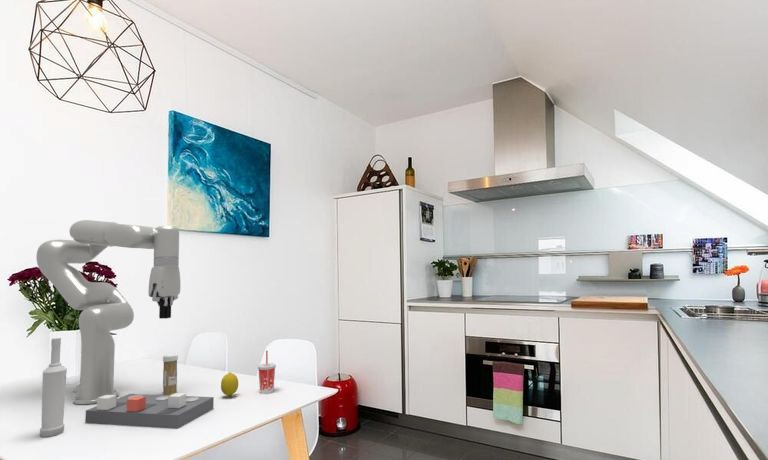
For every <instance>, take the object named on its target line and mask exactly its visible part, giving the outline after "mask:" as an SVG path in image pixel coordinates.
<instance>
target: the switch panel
mask: <svg viewBox="0 0 768 460" xmlns="http://www.w3.org/2000/svg"><path fill="white" fill-rule="evenodd" d="M134 396H143V397H146V408H145V409H142V410H140V411H138V412H133V411H127V399H129V398H132V397H134ZM168 396H170V395H163V394H150V393H149V394H147V393H145V394H143V393H128V394H125V395H123V396H121V397H118V398H116V407H114V408H111V409H109V410H97V405H96V406H94V407H91V408H89V409H86V410H85V421H84V423H85V424H92V425H93V424H96V425H113V426H130V427H144V428H145V427H147V428H160V429H161V428H162V429H180V428H182V427H183V426H185V425H187V424H189V423H191V422H192V421H194V420H196V419H198V418H200V417H201V416H203V415H205V414H207V413H208V412H210V411H212V410H214V406H215V405H214V402H215V401H214V396H194V395H186V405H185V406H183V407H181V408H168Z"/></svg>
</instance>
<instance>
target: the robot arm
mask: <svg viewBox="0 0 768 460" xmlns="http://www.w3.org/2000/svg"><path fill="white" fill-rule="evenodd" d="M69 235H70V237H71V239H72V240H71V239H51V240H46V241H45V242H43V243H41V244H40V245H39V247H38V249H37V251H36V263H37V267H38V269H39V270H40V272H41V274H42V275H43V276H44V277H45V279H47V280H48V281H50V282H49V283H51V284H52V285H53V286H54V288H55V289H56V290H57V291H58V293H59V294H60V295H61V296H62V298H63V299H64V301H65V302H66V303H67V304H68V306H69V307H71V308H72V309H73V310H77V311H81V312H80V314H79V317H78V327H79V333H80V339H81V340H80V343H81V344H80V347H81V348H80V371H79V373H80V374H79V375H80V377H79V384H78V385H76V387H74V388H73V389H71V393H72V394H73V393H76V396H75V397H74V398H73V403H74V404H76V405H91V404H97V398H99V397H102V396H104V395H116V398H117V397H118V396H119V393H120V392H119V391H118V390H114V381H115V380H114V377H115V353H116V352H115V351H116V350H115V347H116V346H115V345H116V344H115V339H114V337H113V336H112V334H111V331H117V330H121V329H125V328H127V327H129V326H130V325H131V324H132V323H133V321H134V318H135V314H134V310H133V308H132V306H131V304H130V303H129V302H128V301H127V299H126V298H125V297H124V296H123V295H122V294H121V292H120V291H119V290H118V289H117V288H116V286H114V285H113V284H110V283H108V282H106V281H105V282H98V281H97V282H95V281H94V282H92V281H88V279H86V278H85V277H84V275H83V274H82V272H80V271H79V270H78V269H77V268H75V267H74V266H71V265H70V264H86V263H89V262H92V260H94V259H95V258H96V257H98V255H100V254H101V253H102V252H103V251H104V250H105V249H107V248H108V247H111V248H112V247H119V248H128V249H147V250H153V266H152V267H151V269H150V274H149V281H148V291H147V293H148V297H149V298H151V301H152V302H156V303H157V306H158V307H159V309H158V310H159V311H158V312H159V314H158V315H159V316H158V317H159V319H171V317H172V306H173V304H174V301H175V300H177V299H179V295H180V294H181V293H180V292H181V273H180V265H179V262H180V261H179V260H180V230H179V228H178V227H176V226H173V225H172V226H171V225H161V226H157V227H152V226H146V225H145V226H143V225H137V224H136V225H135V224H123V223H118V222H114V221H102V220H91V219H90V220H89V219H83V220H78V221H76V222H74V223H73V224H72V225H71V226H70V228H69Z"/></svg>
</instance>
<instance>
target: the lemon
mask: <svg viewBox="0 0 768 460" xmlns="http://www.w3.org/2000/svg"><path fill="white" fill-rule="evenodd" d="M238 388H239V379H238V377H237V375H236V374H235V373H232V372H228V373H227V374H224V376H223V377H222V379H221V382H220V389H221V392H222V394H224V395H225V396H227V397H228V398H231V396H232V395H234V394H236V392H237V390H238Z"/></svg>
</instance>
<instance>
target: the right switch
mask: <svg viewBox="0 0 768 460" xmlns="http://www.w3.org/2000/svg"><path fill="white" fill-rule="evenodd" d="M186 396H187V393H185V392H184V393H183V392H181V393H180V392H179V393H178V392H177V393H175V394H172V395H170V396H168V408H181V407H183V406H185V405H186Z"/></svg>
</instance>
